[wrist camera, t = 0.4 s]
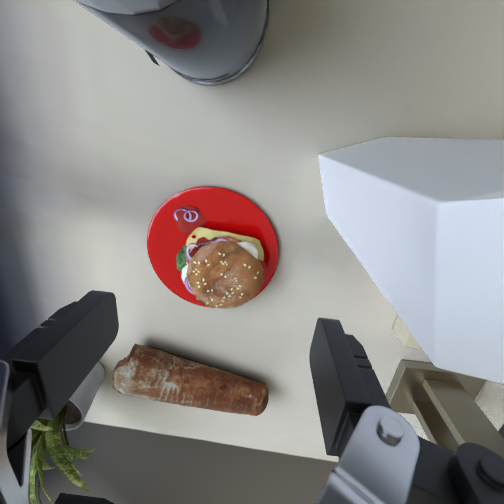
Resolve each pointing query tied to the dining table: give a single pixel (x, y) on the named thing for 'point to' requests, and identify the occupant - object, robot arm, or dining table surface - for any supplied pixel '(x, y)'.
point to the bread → (187, 383)
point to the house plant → (51, 435)
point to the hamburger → (212, 247)
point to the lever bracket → (443, 405)
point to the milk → (429, 239)
